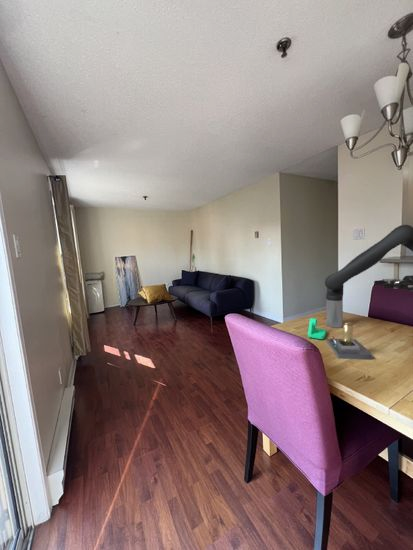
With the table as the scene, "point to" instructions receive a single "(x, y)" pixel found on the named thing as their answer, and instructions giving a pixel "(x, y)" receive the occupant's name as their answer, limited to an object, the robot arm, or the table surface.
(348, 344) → the brass cylinder peg
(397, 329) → the table surface
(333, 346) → the dock
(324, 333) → the camera mount
